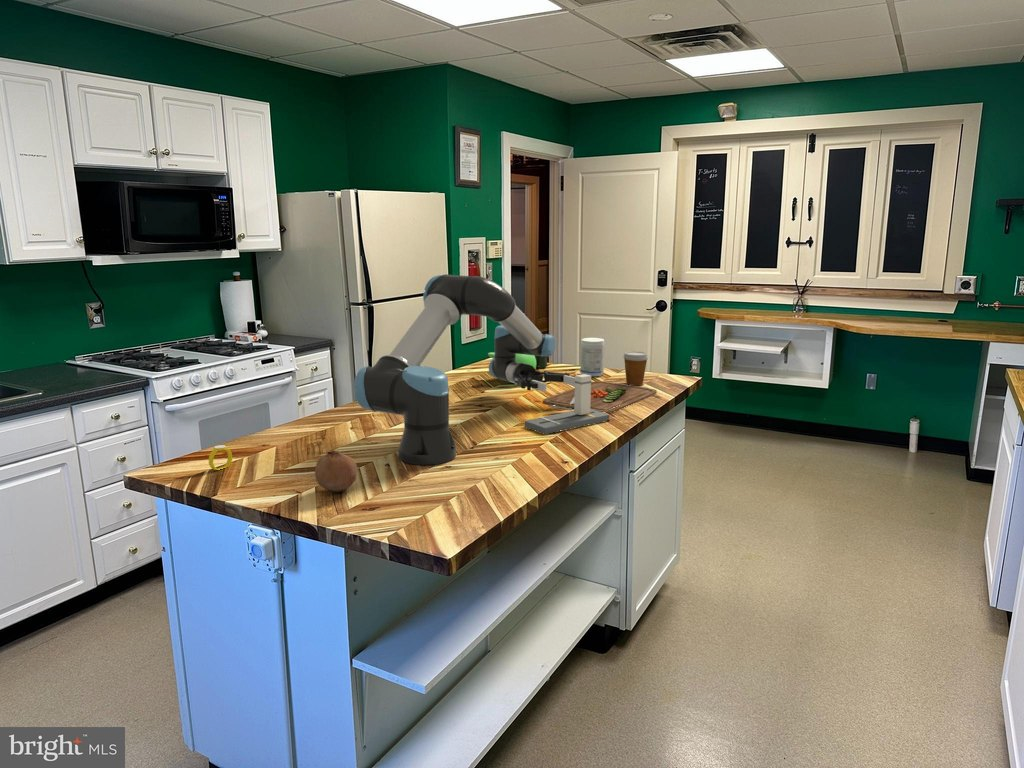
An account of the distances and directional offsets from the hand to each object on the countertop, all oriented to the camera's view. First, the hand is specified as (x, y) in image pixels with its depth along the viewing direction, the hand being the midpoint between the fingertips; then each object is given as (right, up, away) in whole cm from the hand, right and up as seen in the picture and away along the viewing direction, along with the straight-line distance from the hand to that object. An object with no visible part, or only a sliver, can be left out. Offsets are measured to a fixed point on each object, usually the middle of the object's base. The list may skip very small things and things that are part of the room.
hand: (561, 385), depth 229 cm
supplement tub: (+17, +4, +63) cm, 66 cm away
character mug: (-4, +7, +78) cm, 78 cm away
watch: (-89, -21, -51) cm, 104 cm away
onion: (-56, -25, -66) cm, 90 cm away
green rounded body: (-15, +1, +51) cm, 54 cm away
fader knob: (+6, -9, -6) cm, 12 cm away
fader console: (+1, -12, -9) cm, 15 cm away
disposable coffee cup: (+32, 0, +47) cm, 57 cm away
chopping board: (+16, -5, +25) cm, 31 cm away
